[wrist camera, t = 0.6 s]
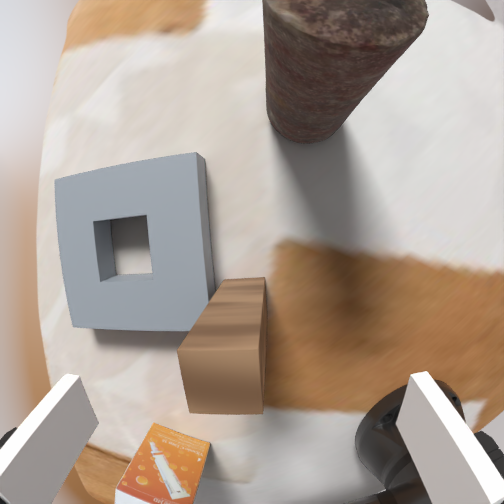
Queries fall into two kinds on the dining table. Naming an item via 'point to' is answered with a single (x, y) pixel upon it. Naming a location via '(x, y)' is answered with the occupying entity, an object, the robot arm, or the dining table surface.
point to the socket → (160, 241)
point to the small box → (163, 469)
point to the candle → (330, 58)
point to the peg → (227, 351)
